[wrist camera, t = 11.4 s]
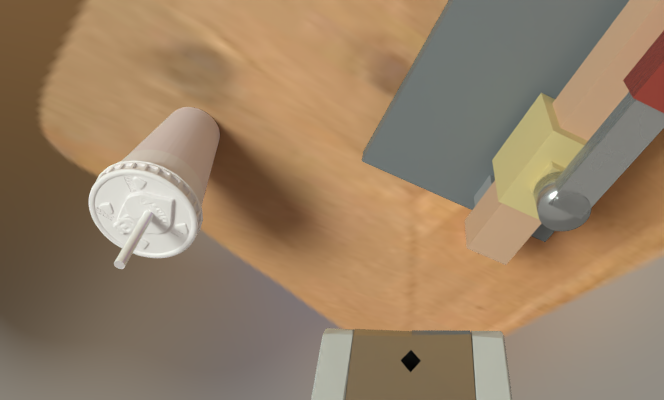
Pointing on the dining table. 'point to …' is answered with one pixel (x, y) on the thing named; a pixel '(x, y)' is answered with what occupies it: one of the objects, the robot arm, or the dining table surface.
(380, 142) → the board
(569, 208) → the lever
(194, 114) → the smoothie
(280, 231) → the dining table surface
